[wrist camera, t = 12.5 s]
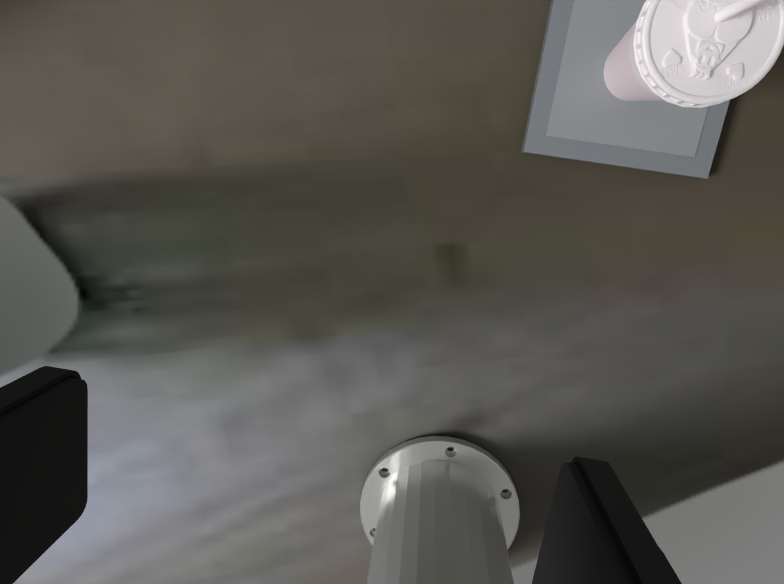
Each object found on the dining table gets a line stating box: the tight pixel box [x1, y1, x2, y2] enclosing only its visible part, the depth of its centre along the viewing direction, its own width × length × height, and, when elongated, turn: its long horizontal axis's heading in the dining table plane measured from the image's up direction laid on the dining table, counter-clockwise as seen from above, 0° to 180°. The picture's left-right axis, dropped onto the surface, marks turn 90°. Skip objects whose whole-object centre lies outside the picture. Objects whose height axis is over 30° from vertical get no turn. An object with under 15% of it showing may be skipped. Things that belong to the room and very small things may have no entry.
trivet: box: [521, 0, 730, 179], centre depth 33 cm, size 12×12×1 cm
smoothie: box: [604, 0, 784, 108], centre depth 26 cm, size 6×6×14 cm
